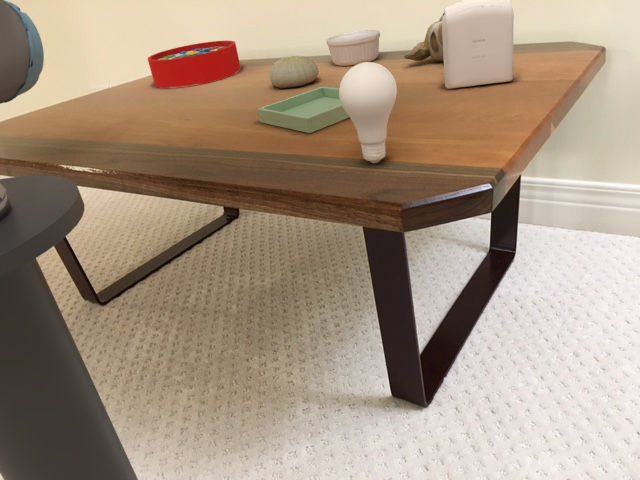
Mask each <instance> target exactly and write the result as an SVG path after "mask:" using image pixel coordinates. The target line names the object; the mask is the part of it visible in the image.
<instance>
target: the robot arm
mask: <svg viewBox="0 0 640 480" xmlns="http://www.w3.org/2000/svg"><path fill="white" fill-rule="evenodd" d="M44 61H45V51H44V47H43V41H42V38H41V35H40V33H39V30H38V29H37V26H36V24H35V22H34V21H33V20H32V19H31V17H30V16H29V15H28V14H27V12H22V11H21V8H20V7H19V6H18V5H17V4H15V3H14V2H10V1H8V0H0V104H5V103H9V102H11V101H13V100H14V99H16V98H17V97H18V96H21V95H23V94H25V93H27V92H28V91H30V90H31V89H32V88H33V87H34V86H36V84H37V82H39V79H40V75H41V73H42V71H43V68H44ZM5 191H6V189H5V188H4V186H3V185H2V184H1V183H0V221H1V220H3V219H4V218H5V217H6V216H7V215H8V214H9V212H10V211H11V203H10V201H9V199H8V197H7V195H6V193H5Z"/></svg>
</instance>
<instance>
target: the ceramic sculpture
mask: <svg viewBox="0 0 640 480" xmlns="http://www.w3.org/2000/svg"><path fill="white" fill-rule="evenodd" d="M443 16H444V12H443V13H442V15H441V16H440V18H439V20H438V21H435V22H433V23H432V24H430V25H429V27H428V28H427V30H426V33H425V37H424V40H423V41H421V42H418V43H417V44H416V45H415V46H414V47H413V48H412V49H411V51H410V52H409V54H406V55H404V56H403V57H404V59H406V60H411V61H414V62H415V61H416V62H420V61H421V62H422V61H425V60H426V59H428V58H429V57H430V58H431V59H433V60H435V61H437V62H444V60H443V38H442V21H443Z"/></svg>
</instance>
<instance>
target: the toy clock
mask: <svg viewBox="0 0 640 480" xmlns="http://www.w3.org/2000/svg"><path fill="white" fill-rule="evenodd" d="M147 63H148V65H149V69H150V73H151V76H152V79H153V83H154V87H156V88H161V89H178V88H187V87H192V86H198V85H203V84H207V83H212V82H215V81H220V80H222V79H226V78H229V77H231V76H234V75H236V74H237V73H239V72H241V70H242V67H241V62H240V58H239V52H238V49H237V44H236V41H234V40H214V41H206V42H199V43H193V44H187V45H184V46H178V47H173V48H170V49H165V50H163V51H160V52H156V53H153V54H151V55H150V56H148V57H147Z"/></svg>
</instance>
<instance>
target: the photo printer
mask: <svg viewBox="0 0 640 480" xmlns="http://www.w3.org/2000/svg"><path fill="white" fill-rule="evenodd" d="M443 10H444V11H443V13H444V16H443V21H442V38H443V60H444V61H443V77H444V78H443V79H444V87H445V88H446V89H449V90H452V89H458V88H466V87H475V86H481V85H489V84H490V85H491V84H499V83H508V82H511V81H512V80H513V79H514V18H515V17H514V10H513V7H512V0H461V1H458V2H455V3H454V4H451V5H450V6H448V7H446V8H444V9H443Z"/></svg>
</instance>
